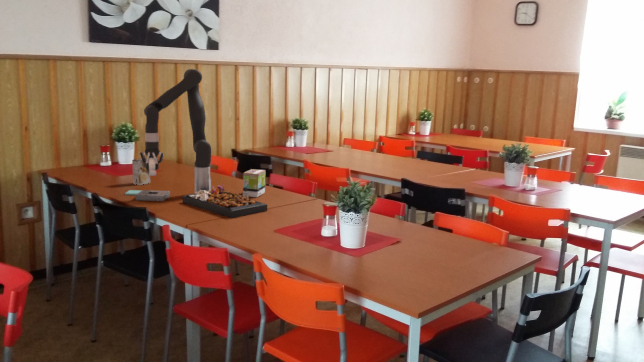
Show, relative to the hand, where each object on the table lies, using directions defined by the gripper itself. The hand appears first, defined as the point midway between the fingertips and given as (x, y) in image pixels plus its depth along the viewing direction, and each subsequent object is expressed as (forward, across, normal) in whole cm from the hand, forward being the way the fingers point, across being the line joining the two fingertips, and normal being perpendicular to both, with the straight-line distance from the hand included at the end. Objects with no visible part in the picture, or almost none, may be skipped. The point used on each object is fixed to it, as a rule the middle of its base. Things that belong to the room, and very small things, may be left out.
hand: (152, 169), depth 332 cm
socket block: (+17, 0, 0) cm, 17 cm away
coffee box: (+17, +19, -39) cm, 47 cm away
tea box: (+17, -57, -19) cm, 62 cm away
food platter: (+18, -44, +15) cm, 50 cm away
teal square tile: (+17, +14, -10) cm, 24 cm away
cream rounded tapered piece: (+3, 0, 0) cm, 3 cm away
